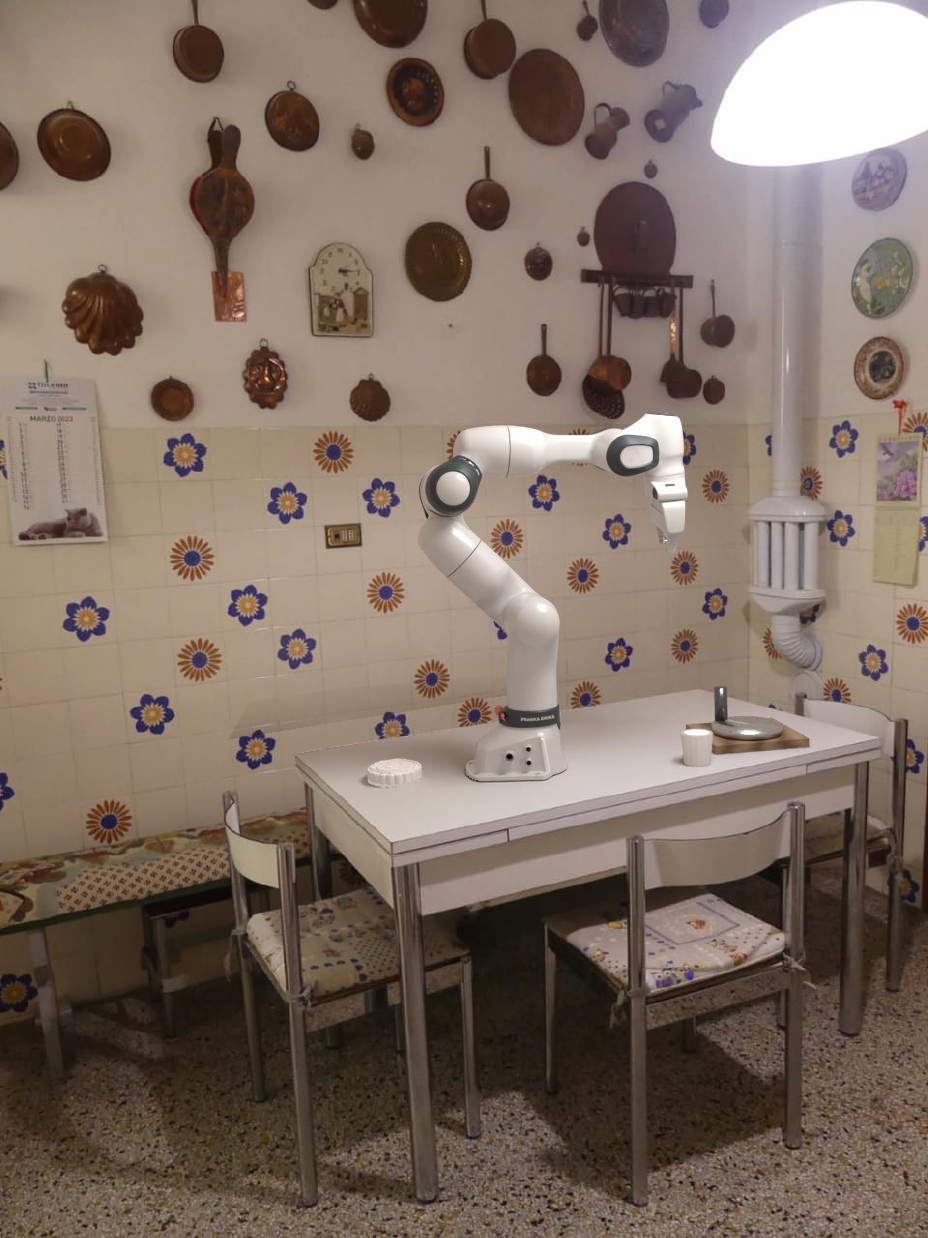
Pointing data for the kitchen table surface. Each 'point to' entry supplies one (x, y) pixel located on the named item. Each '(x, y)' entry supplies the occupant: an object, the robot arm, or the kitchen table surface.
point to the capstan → (741, 722)
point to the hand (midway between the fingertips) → (667, 547)
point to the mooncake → (394, 771)
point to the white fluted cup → (697, 747)
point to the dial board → (754, 741)
